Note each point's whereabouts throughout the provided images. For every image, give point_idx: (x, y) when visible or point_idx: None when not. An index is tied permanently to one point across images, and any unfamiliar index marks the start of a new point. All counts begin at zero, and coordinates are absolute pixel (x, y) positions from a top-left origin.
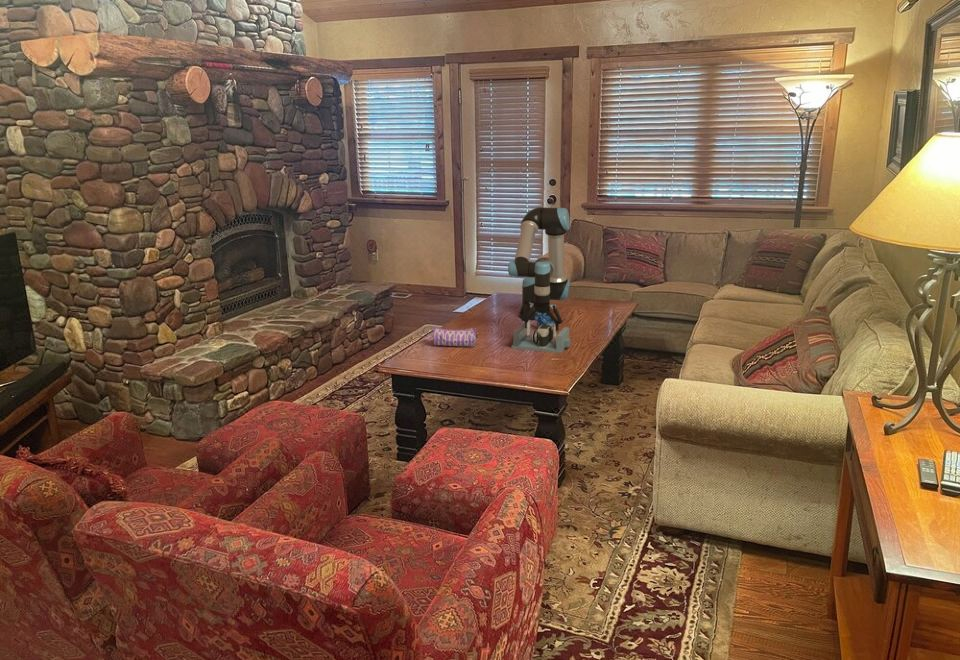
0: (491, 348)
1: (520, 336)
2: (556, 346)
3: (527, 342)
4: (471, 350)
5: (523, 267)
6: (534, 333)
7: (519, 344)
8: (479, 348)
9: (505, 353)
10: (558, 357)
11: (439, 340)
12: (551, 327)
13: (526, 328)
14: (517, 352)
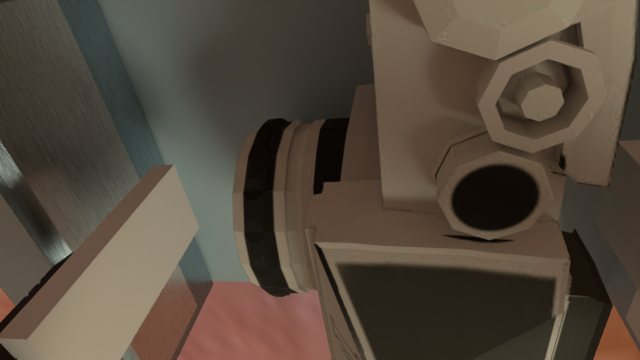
0: None
1: (172, 323)
2: (623, 318)
3: (222, 168)
4: None
5: None
6: (289, 292)
7: (202, 260)
8: (9, 308)
9: (205, 346)
10: (620, 346)
11: None
12: (595, 185)
13: (19, 110)
14: (262, 319)
